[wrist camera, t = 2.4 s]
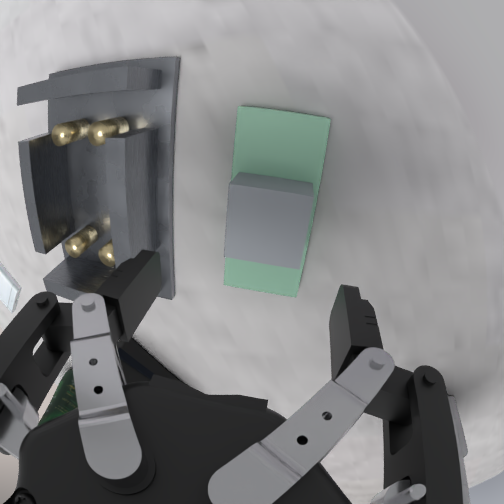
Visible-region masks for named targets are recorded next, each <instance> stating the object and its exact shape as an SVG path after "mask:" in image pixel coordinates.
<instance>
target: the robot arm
mask: <svg viewBox="0 0 504 504" xmlns="http://www.w3.org/2000/svg"><path fill="white" fill-rule="evenodd" d="M161 284H162V277H161V263H160V254H159V252H155V251H150V250H145V249H143V250H141V251H140V252H139V253H138V254H137V256H136V257H135V258H130V259H128V260H126V261H124V262H122V263H121V264H120V265H119V266H118V267H117V269H116V271H114V272H113V273H112V274H111V276H109V277H108V279H107V280H106V281H105V282H104V283H103V284H102V285H101V286H100V288H99V289H98V290H97V291H96V292H95V293H87V294H84V295H81V296H79V297H78V298H77V299H76V300H75V301H74V302H73V303H58V300H57V297H56V295H55V294H54V293H52V292H41V293H38V294H36V295H35V296H33V297H32V298H31V299H30V300H29V302H28V303H27V304H26V305H25V306H24V307H23V308H22V310H21V311H20V312H19V313H18V314H17V315H16V317H15V318H14V319H13V320H12V321H11V323H10V324H9V325H8V326H7V327H6V329H5V330H4V331H3V332H2V334H1V335H0V452H1V453H3V454H6V455H12V456H14V457H16V458H17V459H18V460H19V475H18V482H17V487H16V489H15V491H14V493H13V495H12V496H11V497H10V498H9V499H8V500H7V501H6V502H5V503H3V504H352V503H351V502H350V501H349V499H348V498H347V497H346V496H345V494H344V493H343V492H342V491H341V489H340V488H339V487H338V485H337V484H336V483H335V481H334V480H333V479H332V478H331V476H330V475H329V474H328V472H327V471H326V470H325V468H324V467H323V466H322V464H321V463H320V462H321V461H322V460H323V459H324V458H325V457H326V456H327V454H328V453H329V452H330V451H331V450H332V449H333V448H334V447H335V446H336V444H337V443H338V442H339V441H340V440H341V439H342V438H343V437H344V435H345V434H346V433H347V432H348V431H349V430H350V428H351V427H352V426H353V425H354V424H355V422H356V421H357V420H358V419H359V418H360V416H361V415H362V414H363V413H367V414H370V415H373V416H376V417H378V418H381V419H383V437H384V490H382V491H381V492H379V493H377V494H376V495H375V496H374V497H373V499H372V500H371V503H370V504H470V497H469V490H468V483H467V476H466V470H465V465H464V459H463V458H464V457H465V456H466V455H467V453H468V449H467V444H466V440H465V436H464V432H463V428H462V424H461V420H460V416H459V412H458V409H457V405H456V402H455V398H454V396H448V395H447V391H446V387H445V383H444V379H443V377H442V375H441V374H440V373H439V371H437V370H436V369H435V368H433V367H430V366H420V367H418V368H417V369H416V370H415V371H414V373H413V372H410V371H408V370H405V369H402V368H399V367H397V366H395V364H394V360H393V358H392V357H391V355H390V354H389V353H387V352H386V351H384V350H383V345H382V341H381V336H380V332H379V328H378V326H377V325H378V323H377V319H376V315H375V311H374V308H373V307H372V305H371V304H370V303H369V301H368V300H363V299H361V296H360V292H359V288H358V287H355V286H348V285H341V286H340V288H339V291H338V294H337V297H336V300H335V303H334V306H333V308H332V311H331V315H330V321H329V330H330V348H331V372H332V380H330V381H329V382H328V383H327V384H326V385H325V386H324V387H322V388H321V389H320V390H319V391H318V392H317V393H316V394H315V395H314V396H313V397H312V398H311V399H310V400H309V401H308V402H307V403H305V404H304V405H303V406H302V407H301V408H300V409H299V410H298V411H297V412H295V413H294V414H293V415H292V416H291V417H290V418H289V419H286V418H284V417H283V416H281V415H280V414H278V413H277V412H275V411H273V410H271V409H268V408H267V403H268V400H265V399H259V398H253V397H248V396H242V395H207V394H204V393H202V392H200V391H198V390H196V389H194V388H192V387H190V386H188V385H186V384H184V383H182V382H180V381H176V380H173V379H169V378H166V377H162V376H159V375H155V374H153V376H152V378H151V380H150V382H149V381H143V382H134V383H130V384H126V381H125V377H124V374H123V370H122V366H121V362H120V358H119V354H118V350H117V346H116V343H117V342H118V340H122V341H126V342H129V340H130V339H131V337H132V335H133V334H134V332H135V330H136V329H137V327H138V326H139V324H140V322H141V321H142V319H143V318H144V316H145V314H146V313H147V311H148V310H149V308H150V307H151V305H152V303H153V302H154V300H155V299H156V297H157V296H158V294H159V292H160V289H161ZM41 337H42V338H43V340H44V341H43V342H42V344H41V345H40V347H39V348H38V349H37V351H36V352H35V354H34V355H33V349H34V347H35V345H36V344H37V342H38V341H39V340H40V338H41ZM70 355H71V357H72V367H73V375H74V383H75V391H76V397H77V404H78V408H76V409H74V410H72V411H69V412H67V413H65V414H63V415H61V416H59V417H56V418H54V419H52V420H50V421H47V422H45V423H43V424H41V425H38V422H39V414H38V410H39V408H40V406H41V404H42V402H43V400H44V399H45V397H46V395H47V393H48V392H49V390H50V388H51V386H52V384H53V383H54V381H55V380H56V378H57V376H58V375H59V373H60V371H61V370H62V368H63V366H64V365H65V363H66V361H67V360H68V358H69V356H70Z"/></svg>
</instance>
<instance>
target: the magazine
mask: <svg viewBox="0 0 504 504" xmlns="http://www.w3.org/2000/svg"><path fill="white" fill-rule="evenodd" d="M116 346H117V350H118V354H119V358H120V362H121V366H122V370H123V374H124V377H125V381H126V384H130V383H134V382H143V381H149V382H150V380H151V378H152V376H153V374H155V375H159V376H162V377H166V378H169V379H173V380H176V381H180V380H179V379H177V378H176V377H175V376H174V375H173V374H171V373H170V372H169V371H168V370H167V369H165V368H164V367H163V366H162V365H161V364H160V363H158V362H157V361H156V360H155V359H154V358H153V357H152V356H151V355H149V354H148V353H147V352H146V351H145V350H144V349H143V348H142V347H141V346H140V345H139V344H137V343H136V342H135V341H134V340H133V339H132V338H131V339H130V340H129V342H126V341H122V340H120V341H119V342H117V343H116ZM180 382H181V381H180Z"/></svg>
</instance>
